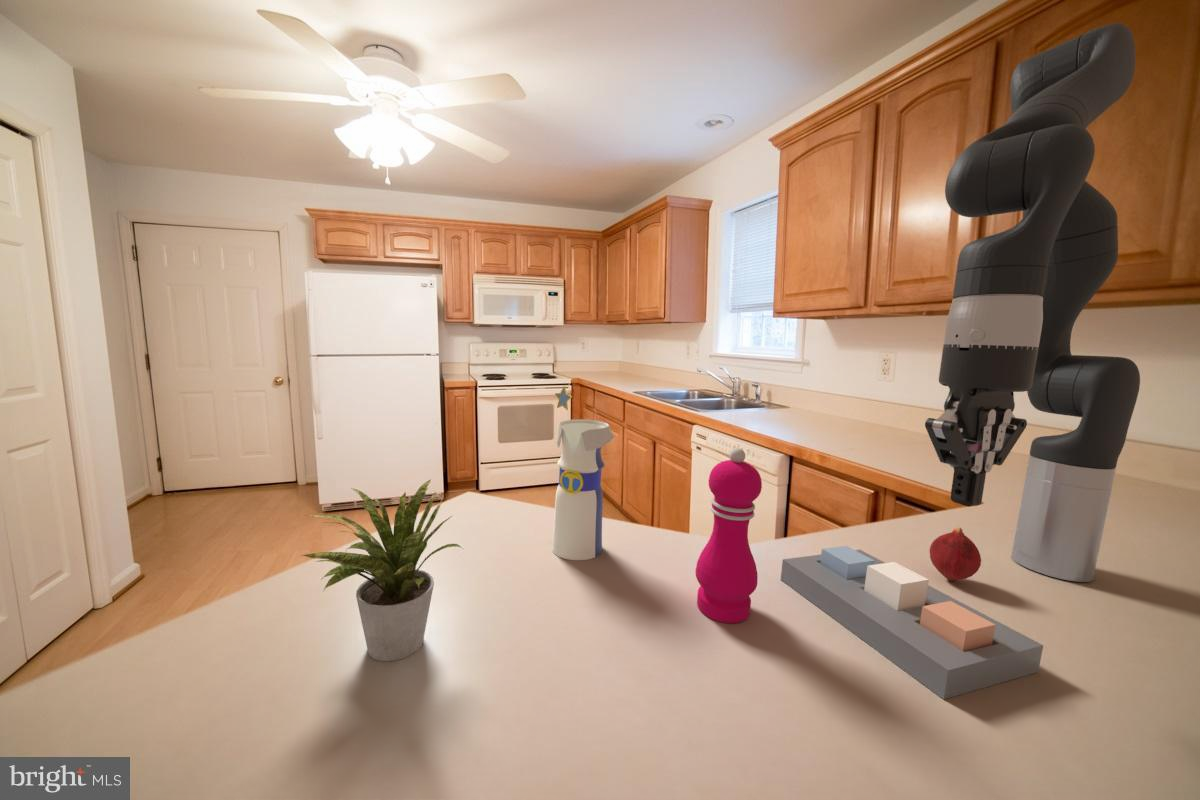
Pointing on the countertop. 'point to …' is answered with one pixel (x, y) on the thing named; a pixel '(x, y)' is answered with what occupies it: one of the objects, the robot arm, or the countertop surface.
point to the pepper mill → (729, 542)
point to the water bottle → (579, 487)
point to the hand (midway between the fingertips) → (965, 503)
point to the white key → (896, 586)
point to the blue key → (845, 562)
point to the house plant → (390, 576)
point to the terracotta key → (957, 625)
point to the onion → (955, 555)
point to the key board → (913, 632)
